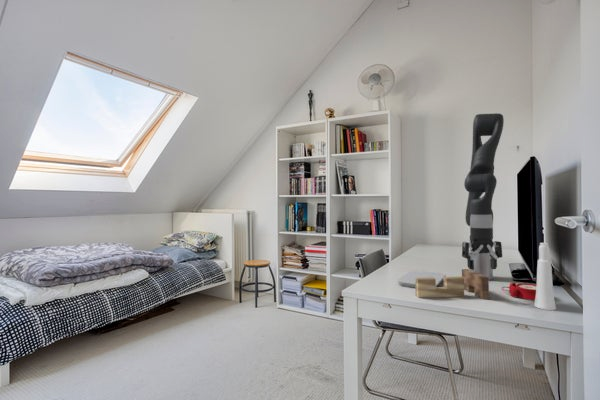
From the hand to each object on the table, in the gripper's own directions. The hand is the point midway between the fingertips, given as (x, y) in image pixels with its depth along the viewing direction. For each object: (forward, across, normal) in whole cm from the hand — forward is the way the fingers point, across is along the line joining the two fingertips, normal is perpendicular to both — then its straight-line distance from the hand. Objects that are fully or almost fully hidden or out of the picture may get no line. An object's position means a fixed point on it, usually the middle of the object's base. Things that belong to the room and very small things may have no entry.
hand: (482, 269), depth 122 cm
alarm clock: (+11, +17, 0) cm, 20 cm away
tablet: (+11, -13, +25) cm, 30 cm away
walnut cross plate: (+11, 0, +5) cm, 12 cm away
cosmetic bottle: (+11, +14, -12) cm, 22 cm away
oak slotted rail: (+11, -15, +4) cm, 19 cm away
